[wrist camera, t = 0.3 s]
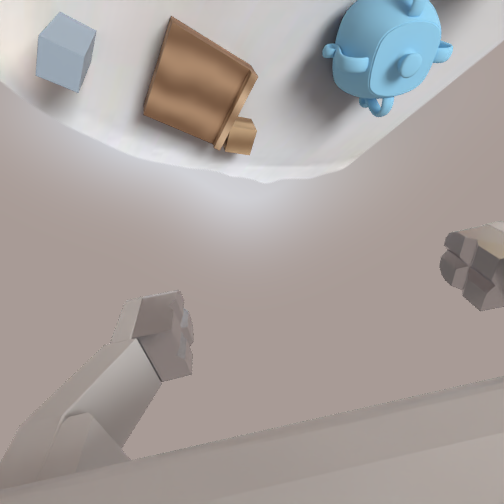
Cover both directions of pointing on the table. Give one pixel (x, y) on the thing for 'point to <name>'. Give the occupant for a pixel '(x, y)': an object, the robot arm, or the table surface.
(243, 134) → the stained oak block
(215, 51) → the walnut plinth
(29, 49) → the table surface
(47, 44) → the slate-blue pillar block
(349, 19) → the decorative pot
